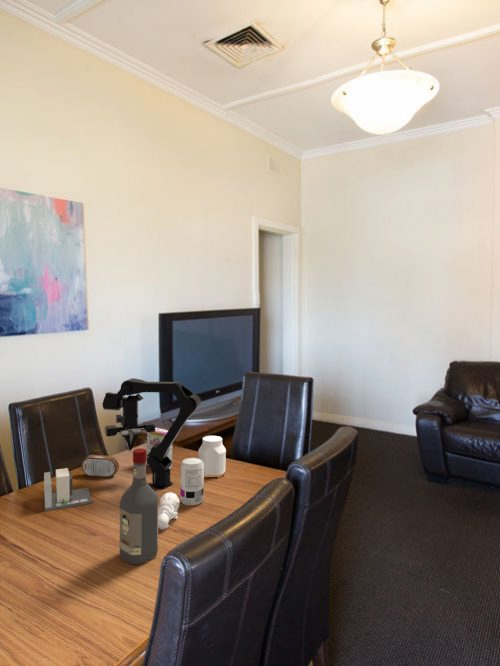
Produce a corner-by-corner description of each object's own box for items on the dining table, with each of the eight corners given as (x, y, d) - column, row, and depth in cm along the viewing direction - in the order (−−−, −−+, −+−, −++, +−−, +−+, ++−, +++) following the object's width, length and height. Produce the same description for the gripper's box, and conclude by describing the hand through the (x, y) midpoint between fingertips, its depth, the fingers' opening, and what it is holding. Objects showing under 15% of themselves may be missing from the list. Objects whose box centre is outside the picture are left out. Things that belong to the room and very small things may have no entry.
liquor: (142, 542, 132) (143, 443, 130) (162, 554, 126) (163, 450, 124) (115, 555, 125) (115, 450, 123) (135, 568, 119) (136, 458, 117)
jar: (196, 477, 183) (197, 441, 182) (199, 469, 192) (200, 434, 192) (224, 478, 183) (225, 442, 182) (226, 469, 192) (226, 435, 192)
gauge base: (88, 490, 168) (88, 466, 168) (91, 503, 157) (91, 478, 157) (44, 496, 162) (44, 472, 161) (45, 511, 151) (44, 485, 150)
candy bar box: (145, 466, 194) (146, 429, 193) (153, 463, 199) (154, 426, 198) (164, 471, 188) (165, 433, 187) (172, 468, 193) (173, 430, 192)
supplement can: (175, 503, 158) (176, 462, 158) (189, 495, 166) (189, 455, 165) (194, 509, 155) (195, 466, 154) (207, 500, 162) (208, 459, 161)
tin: (119, 475, 183) (119, 455, 183) (116, 478, 180) (116, 458, 179) (84, 473, 185) (84, 453, 184) (80, 476, 181) (80, 456, 181)
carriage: (70, 491, 164) (70, 467, 163) (73, 503, 154) (73, 477, 154) (55, 493, 161) (55, 469, 161) (57, 505, 152) (57, 480, 151)
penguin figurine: (180, 490, 149) (170, 510, 137) (181, 514, 150) (170, 535, 138) (162, 489, 150) (150, 508, 138) (162, 512, 151) (150, 533, 139)
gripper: (149, 404, 186) (148, 441, 187) (102, 408, 178) (102, 447, 179) (155, 410, 176) (155, 449, 177) (106, 415, 168) (106, 455, 169)
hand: (130, 450), depth 175 cm, fingers closed
